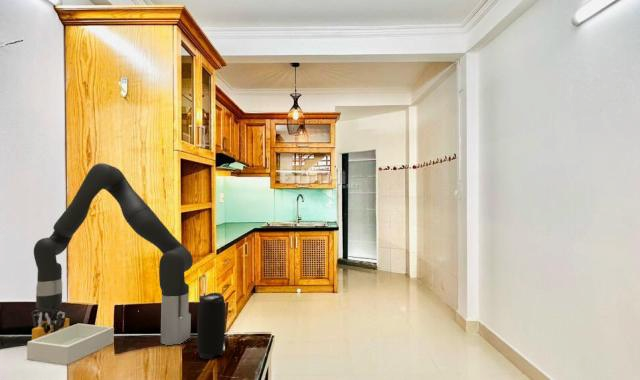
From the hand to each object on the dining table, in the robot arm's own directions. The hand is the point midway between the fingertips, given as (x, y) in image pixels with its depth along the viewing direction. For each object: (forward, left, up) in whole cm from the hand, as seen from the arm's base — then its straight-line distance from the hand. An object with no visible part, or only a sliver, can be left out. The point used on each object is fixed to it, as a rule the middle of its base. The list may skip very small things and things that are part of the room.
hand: (48, 339), depth 129 cm
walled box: (-15, +4, -1) cm, 16 cm away
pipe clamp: (0, 0, -1) cm, 1 cm away
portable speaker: (-62, -5, -1) cm, 63 cm away
